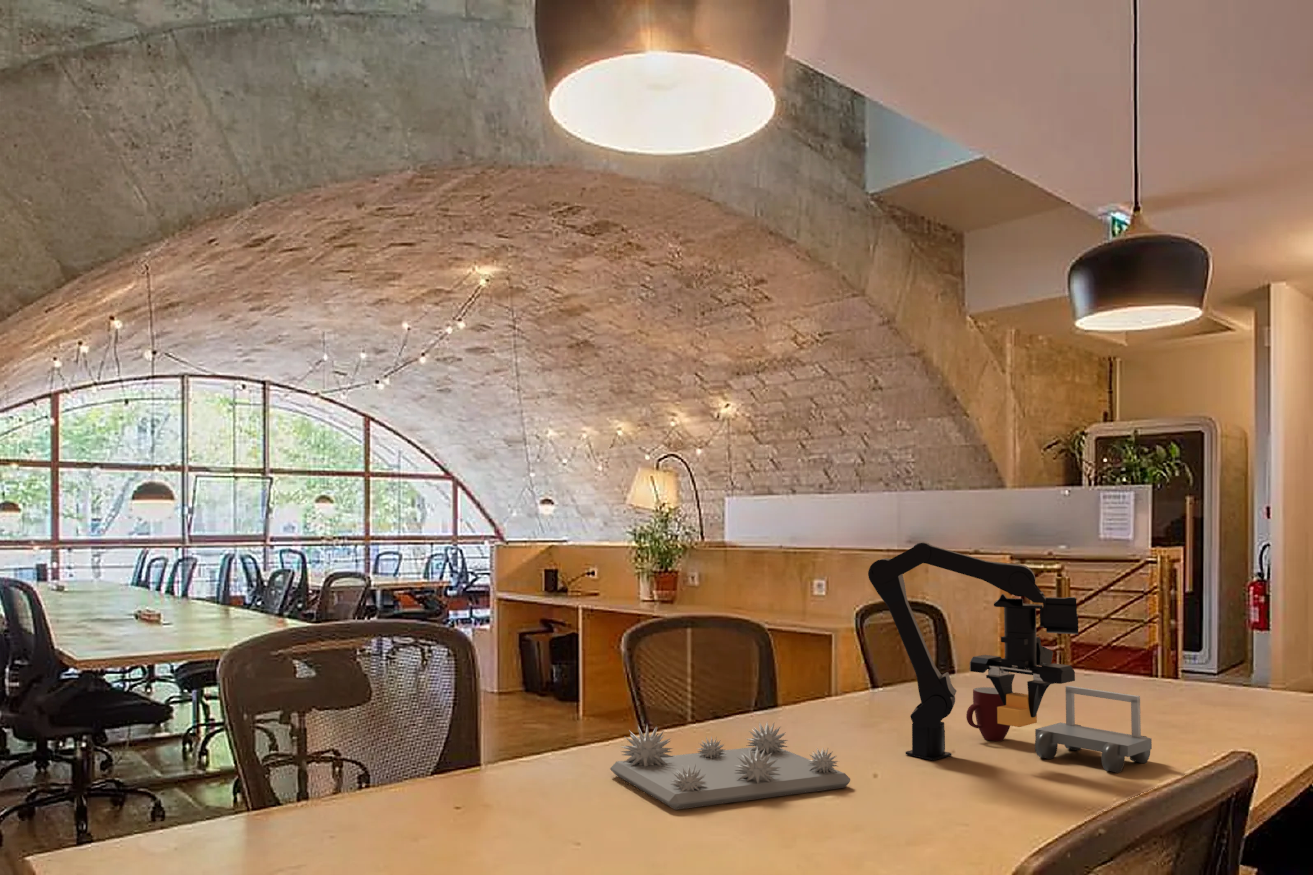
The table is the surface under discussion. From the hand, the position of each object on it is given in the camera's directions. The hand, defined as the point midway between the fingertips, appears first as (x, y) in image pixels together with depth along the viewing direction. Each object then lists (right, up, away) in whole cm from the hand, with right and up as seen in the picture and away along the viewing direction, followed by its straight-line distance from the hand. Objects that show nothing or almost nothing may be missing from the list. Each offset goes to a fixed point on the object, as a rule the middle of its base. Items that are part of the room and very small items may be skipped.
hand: (1021, 715), depth 194 cm
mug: (0, -11, +20) cm, 23 cm away
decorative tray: (-56, -8, -15) cm, 59 cm away
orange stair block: (-1, -1, -1) cm, 2 cm away
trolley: (+15, -10, +3) cm, 18 cm away
